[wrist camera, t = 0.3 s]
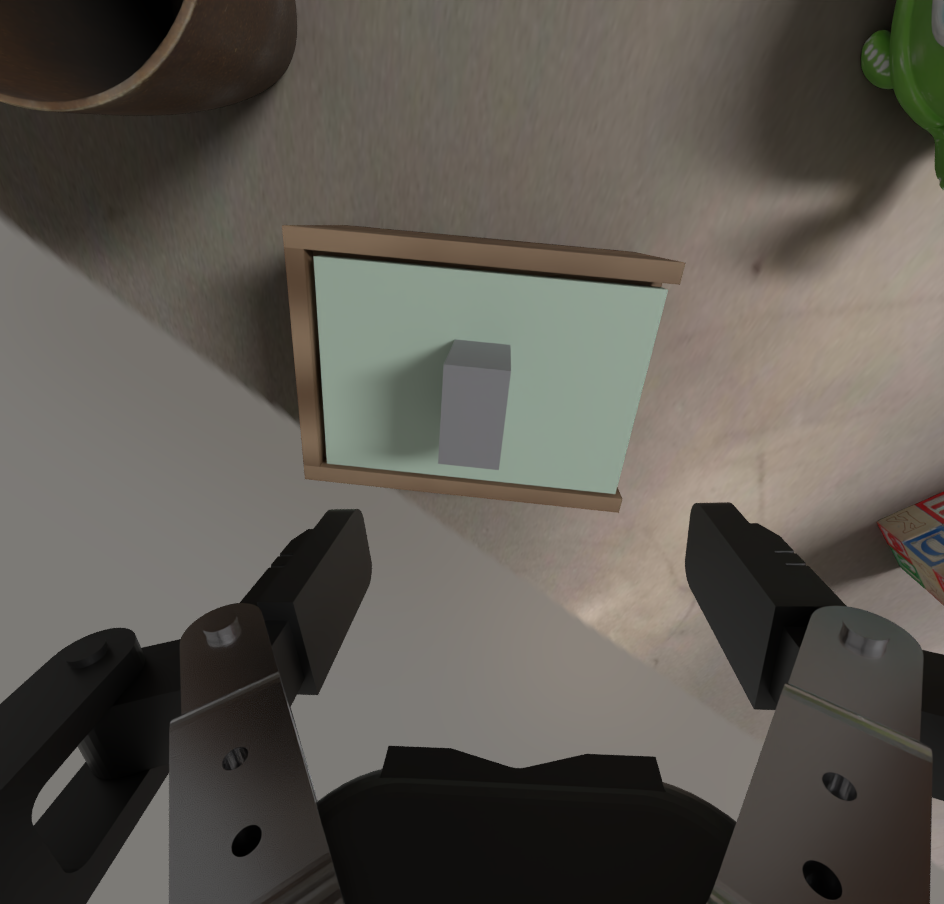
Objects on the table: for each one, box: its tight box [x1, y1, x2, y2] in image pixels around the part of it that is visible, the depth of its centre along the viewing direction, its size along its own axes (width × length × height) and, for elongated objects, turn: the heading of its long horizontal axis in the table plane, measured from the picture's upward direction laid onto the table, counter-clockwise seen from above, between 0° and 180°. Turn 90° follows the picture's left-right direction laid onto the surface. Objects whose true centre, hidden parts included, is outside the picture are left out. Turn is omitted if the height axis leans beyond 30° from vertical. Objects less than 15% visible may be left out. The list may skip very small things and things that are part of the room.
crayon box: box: [282, 225, 685, 513], centre depth 31 cm, size 15×20×10 cm
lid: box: [314, 255, 668, 494], centre depth 24 cm, size 12×18×6 cm, turn 85°
